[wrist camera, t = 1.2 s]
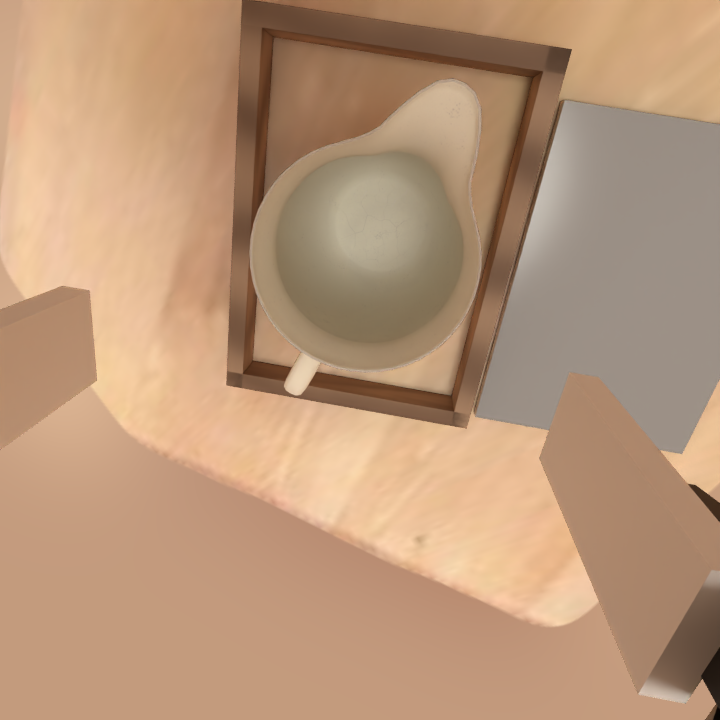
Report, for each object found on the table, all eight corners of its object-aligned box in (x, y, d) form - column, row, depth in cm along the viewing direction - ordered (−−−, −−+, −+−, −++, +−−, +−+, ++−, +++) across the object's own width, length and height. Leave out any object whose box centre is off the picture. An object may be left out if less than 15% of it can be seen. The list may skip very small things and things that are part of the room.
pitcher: (252, 307, 37) (169, 386, 24) (367, 64, 30) (335, -1, 17) (378, 375, 38) (361, 485, 25) (516, 157, 31) (587, 160, 18)
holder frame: (255, 10, 29) (242, -2, 27) (559, 57, 29) (571, 49, 26) (237, 371, 39) (226, 385, 37) (463, 412, 39) (466, 428, 36)
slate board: (561, 101, 30) (564, 99, 29) (827, 143, 29) (837, 143, 28) (473, 411, 38) (475, 416, 38) (676, 448, 38) (682, 453, 37)
